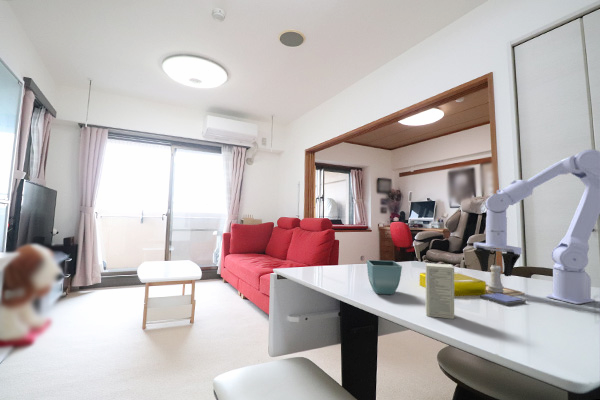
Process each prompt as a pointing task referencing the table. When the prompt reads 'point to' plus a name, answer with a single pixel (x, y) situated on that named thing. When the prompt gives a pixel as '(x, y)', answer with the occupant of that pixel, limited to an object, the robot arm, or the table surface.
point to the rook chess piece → (495, 280)
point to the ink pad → (502, 299)
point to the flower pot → (384, 276)
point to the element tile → (462, 285)
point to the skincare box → (440, 290)
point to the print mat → (506, 291)
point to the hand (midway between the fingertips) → (495, 273)
